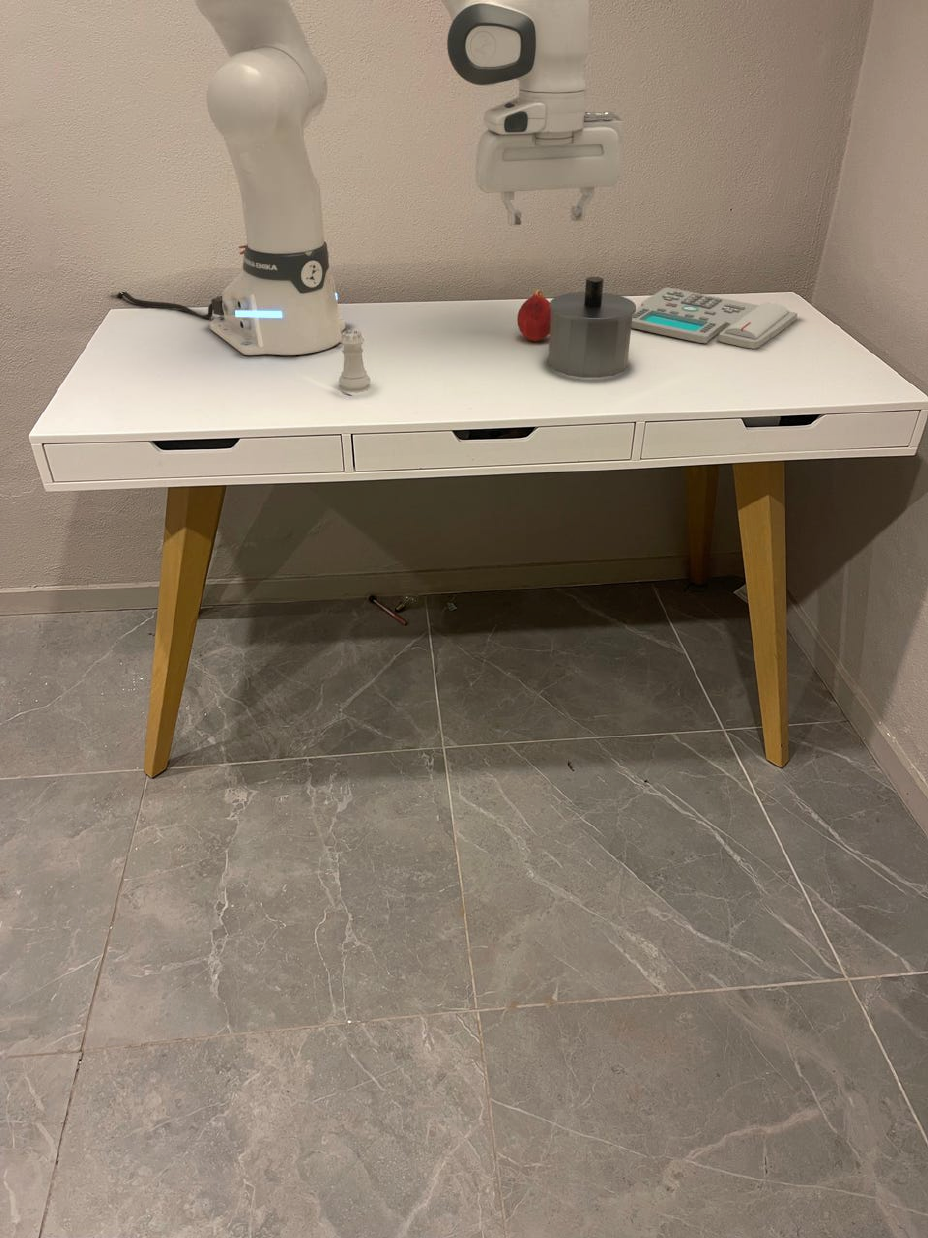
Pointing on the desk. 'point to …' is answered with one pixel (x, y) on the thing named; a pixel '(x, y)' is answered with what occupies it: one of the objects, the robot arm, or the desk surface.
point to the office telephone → (711, 318)
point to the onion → (535, 317)
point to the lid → (593, 304)
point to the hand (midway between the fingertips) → (546, 222)
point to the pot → (589, 346)
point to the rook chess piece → (353, 364)
